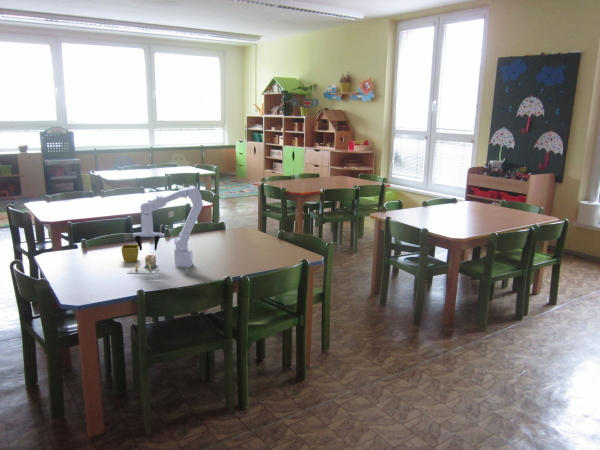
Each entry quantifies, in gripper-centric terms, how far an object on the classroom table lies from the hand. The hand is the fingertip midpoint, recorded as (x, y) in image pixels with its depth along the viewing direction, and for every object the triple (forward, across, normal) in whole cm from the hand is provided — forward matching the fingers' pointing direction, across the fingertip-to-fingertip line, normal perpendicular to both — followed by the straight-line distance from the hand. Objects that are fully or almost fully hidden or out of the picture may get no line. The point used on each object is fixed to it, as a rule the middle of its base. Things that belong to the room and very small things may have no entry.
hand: (148, 249), depth 258 cm
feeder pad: (+10, -1, +1) cm, 10 cm away
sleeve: (+9, -1, +1) cm, 9 cm away
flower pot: (+10, +12, -10) cm, 19 cm away
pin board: (+10, +1, +9) cm, 13 cm away
